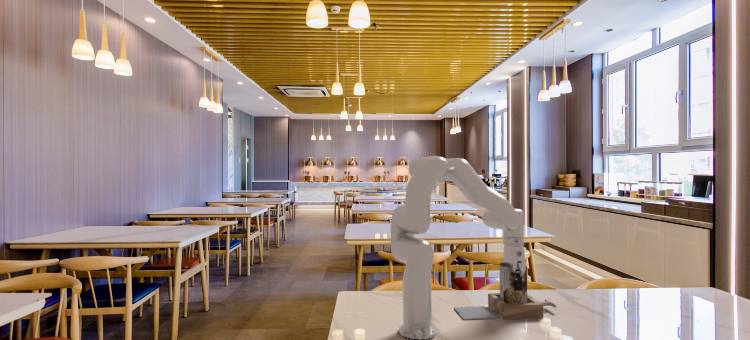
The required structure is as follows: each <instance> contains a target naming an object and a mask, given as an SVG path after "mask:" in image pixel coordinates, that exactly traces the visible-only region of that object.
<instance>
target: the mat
mask: <svg viewBox="0 0 750 340" xmlns="http://www.w3.org/2000/svg"><path fill="white" fill-rule="evenodd" d="M453 309H454V311H455V310H456V311H457V312H458V313H459V314H458V313H457V312H456V311H455V312H456V313H457V314H458V315H459V317H461V318H463V319H464V320H463V319H462V320H463V321H473V320H472V319H477V320H491V319H492V320H495V318H497V316H495V315H494V314H493V313H492V312H490V311H489V309H487V308H486V307H485V306H484V305H482V306H480V305H479V306H463V307H458V306H456V307H453Z"/></svg>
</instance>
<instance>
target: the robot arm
mask: <svg viewBox="0 0 750 340" xmlns="http://www.w3.org/2000/svg"><path fill="white" fill-rule="evenodd" d="M408 172H409V175H410V179H409V180H408V182H407V185H406V189H405V199H404V200H405V201H404V204H400V205H399V206H397V207H396V208H395V209H394V210H393V212H392V214H391V219H390V236H389V237H390V241H389V242H390V243H389V244H390V252H391V254H392V256H393V258H394V259H395V260H396V261H398V262H401V263H403V264H405V268H404V271H403V276H402V319H403V320H402V325H400V326H399V327H398V334H399V333H400V334H399V335H400V336H401V337H403V336H404V337H403V338H405V337H407V338H406V339H408V338H410V339H409V340H412V339H419V340H421V339H425V340H430V339H432V338H434V337H435V336H436V335H437V328H436V327H435V326H434V325H432V323H433V322H432V321H433V319H432V315H433V314H432V268H433V263H434V258H435V257H434V256H435V255H434V254H435V253H434V249H433V246H432V245H431V244H430V242H428V241H427V240H425V239H423V238H419V237H415V235H424V234H425V233H427V232H428V231H429V229H430V225H431V198H432V192H433V189H434V187H435V186H436V185H437V183H438V182H452V183H453V184H454V185H455V186H456V187H457V188H458V190H459V191H460V192H461V193H462V195H463V196H464V197H465V198H466V200H468V201H469V202H470V203H472V204H474V205H476V206H479V207H481V208H484V209H486V210H485V211H484V212H483V214H482V222H483V224H484V225H485V226H486V227H488V228H490V229H496V230H502V233H503V234H502V245H503V252H502V253H503V254H502V255H503V256H502V263H506V264H507V265H509V266H511V271H512V272H513V274H514V278H515V280H514V291H522V280H523V276H524V273H525V271H526V253H525V247H524V246H525V245H524V243H525V242H524V241H525V240H524V239H525V233H524V232H525V231H524V229H525V226H524V223H525V220H524V219H525V217H524V216H525V215H524V214H525V213H524V211H523V210H522V209H519V208H514V206H513V205H512V203H511V202H509V200H508V199H506V198H505V197H504V196H503V195H501V194H500V193H499V192H497V191H496V190H494V189H493V188H491V187H489V186H488V185H487V184H486V183H485V182H484V181H483V179H482V178H481V177H480V176H479V174H478V173H477V172H476V170H475V169H474V167H473V166H472V165H471V164H470V163H469V161H467V160H466V159H464V158H461V157H456V158H455V157H453V158H452V157H451V158H444V157H443V156H439V155H430V156H429V155H427V156H418V157H415V158H413V159H412V160H411V161H410V163H409V164H408ZM517 269H519V271H515V270H517ZM517 273H519V274H518V275H516V274H517ZM429 338H430V339H429Z"/></svg>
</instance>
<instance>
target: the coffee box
mask: <svg viewBox="0 0 750 340" xmlns="http://www.w3.org/2000/svg"><path fill="white" fill-rule="evenodd" d="M525 266H526V265H525ZM515 271H519V269H517V270H515ZM518 274H519V273H517V274H516V275H518ZM514 280H515V278H514V274H513V272H512V271H511V266H509V265H507V264H506V263H503V262H499V293H500V299H501V300H502V301H504V302H505V303H506V304H516V303H528V302H527V294H528V266H526V271H525V273H524V276H523V280H522V291H514Z"/></svg>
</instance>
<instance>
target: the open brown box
mask: <svg viewBox="0 0 750 340" xmlns="http://www.w3.org/2000/svg"><path fill="white" fill-rule="evenodd" d="M527 302H528V303H516V304H506V303H505V302H504V301H502V300H501V299H500V292H489V293H487V307H489V308H490V307H491V308H492V309H493V310H494V311H493V310H492V309H491V308H490V309H491V310H492V311H493V312H495V313H496V314H497V316H499V315H500V316H501V317H502V320H504V319H509V320H520V319H519V318H529V319H540V318H539V317H543V318H544V307H545V306H546V307H549V306H550V307H553V308H554V309H555V308H557V304H555V303H554V302H552V301H550V300H549V299H546V298H545V299H544V301H539V300H537V299H536V298H534V297H533V296H532V295H529V294H528V293H527ZM500 316H499V317H500ZM501 317H500V318H501Z"/></svg>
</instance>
